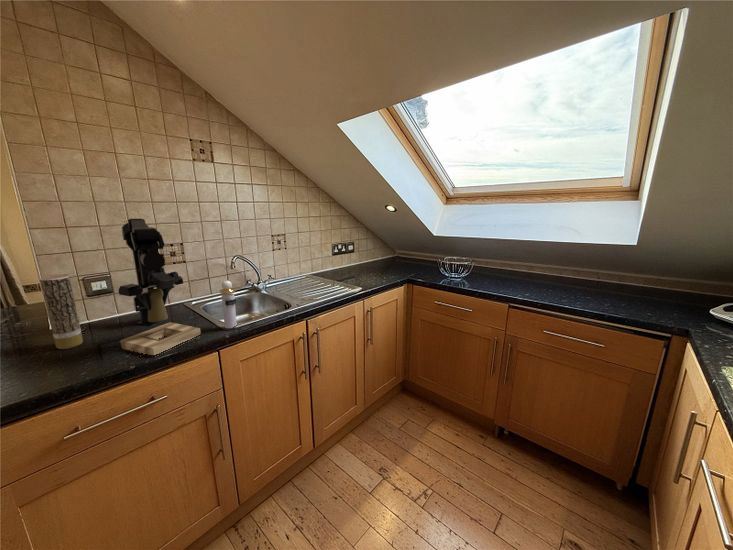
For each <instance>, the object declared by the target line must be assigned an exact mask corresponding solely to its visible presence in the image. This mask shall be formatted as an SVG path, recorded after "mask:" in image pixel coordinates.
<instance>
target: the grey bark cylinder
mask: <svg viewBox="0 0 733 550" xmlns="http://www.w3.org/2000/svg"><path fill="white" fill-rule="evenodd" d="M39 281H40V286H41V290H42V294H43V297H44V302H45V307H46V311H47V315H48V319H49V324H50V327H51V332H52V336H53V340H54V344H55V348H57V349H59V350H67V349H71V348H76V347H78V346H80V345H82V344H83V342H84V340H83V335H82V330H81V325H80V321H79V320H80V319H79V316H78V315H79V314H78V310H77V306H76V302H75V301H76V300H75V297H74V292H73V288H72V283H71V279H70V274H66V273H64V274H63V273H62V274H51V275H46V276H41V277H39Z"/></svg>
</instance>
